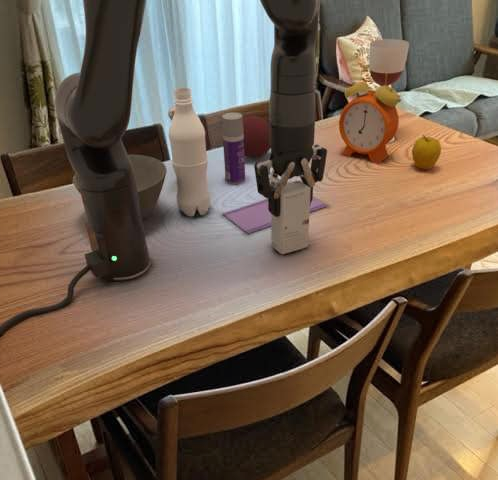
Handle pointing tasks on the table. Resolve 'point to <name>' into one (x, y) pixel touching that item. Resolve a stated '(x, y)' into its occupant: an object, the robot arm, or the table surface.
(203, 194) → the water bottle
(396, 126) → the alarm clock
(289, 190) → the cosmetic box
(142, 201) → the bowl
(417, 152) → the apple
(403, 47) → the wineglass
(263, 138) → the decorative ball
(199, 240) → the table surface
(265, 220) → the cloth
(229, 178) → the container
